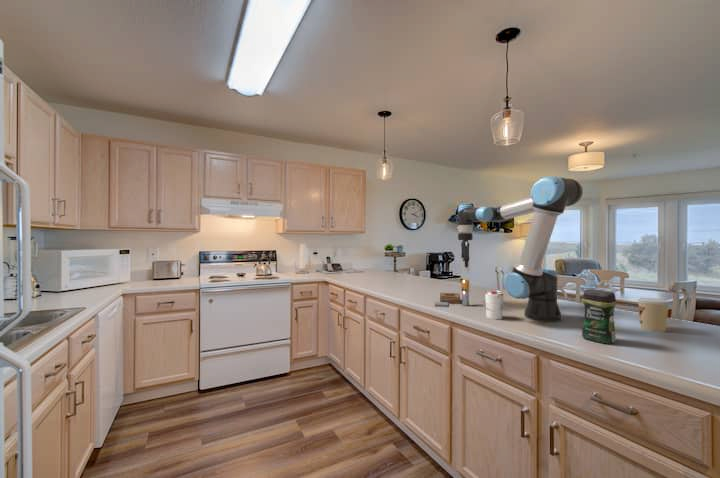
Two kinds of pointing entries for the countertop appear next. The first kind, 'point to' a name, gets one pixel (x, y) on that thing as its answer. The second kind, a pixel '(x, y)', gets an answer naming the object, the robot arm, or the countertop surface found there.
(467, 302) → the gold and silver cylinder
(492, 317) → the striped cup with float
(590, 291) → the coffee jar
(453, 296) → the socket block
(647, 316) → the coffee cup
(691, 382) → the countertop surface
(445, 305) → the rest mat
